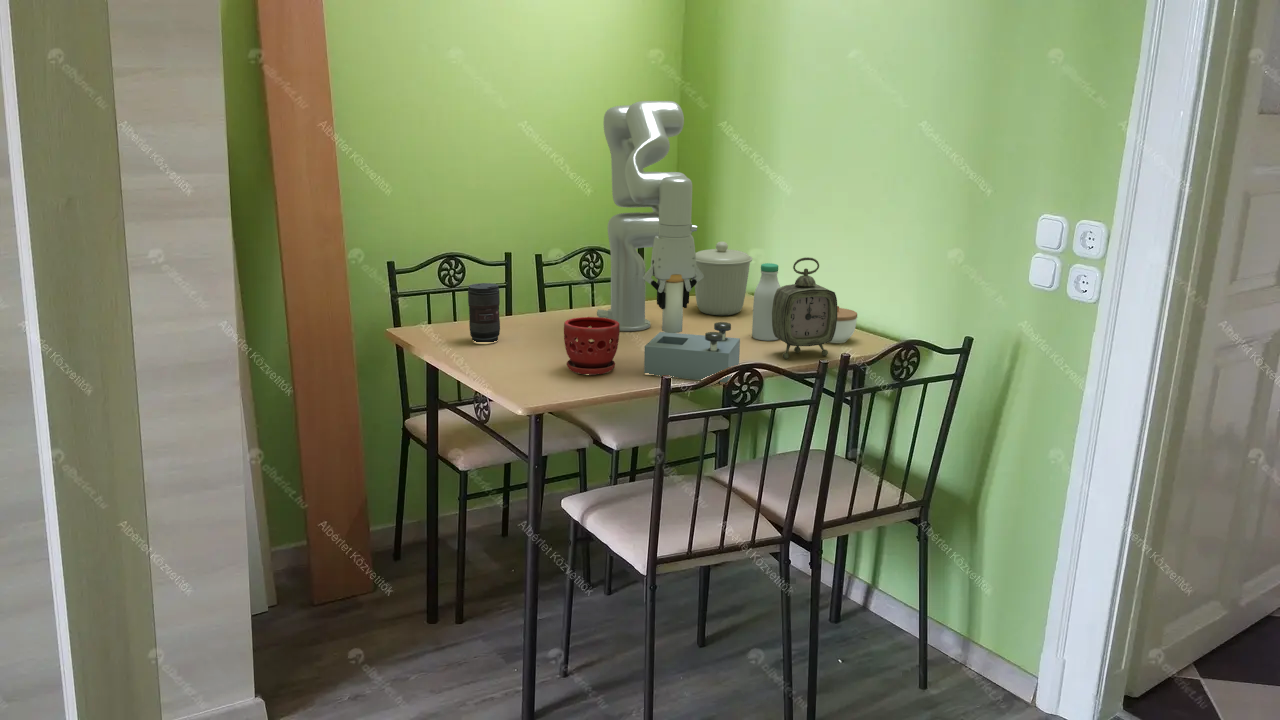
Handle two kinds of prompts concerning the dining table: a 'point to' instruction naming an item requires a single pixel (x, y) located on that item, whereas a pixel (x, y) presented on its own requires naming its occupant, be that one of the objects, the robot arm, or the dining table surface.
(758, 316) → the milk bottle
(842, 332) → the lidded jar
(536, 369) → the dining table surface
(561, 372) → the dining table surface
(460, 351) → the dining table surface
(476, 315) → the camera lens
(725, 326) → the plunger
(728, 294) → the canister
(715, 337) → the plunger
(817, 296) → the tabletop clock
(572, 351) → the plant pot
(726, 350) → the housing
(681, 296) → the cylinder
